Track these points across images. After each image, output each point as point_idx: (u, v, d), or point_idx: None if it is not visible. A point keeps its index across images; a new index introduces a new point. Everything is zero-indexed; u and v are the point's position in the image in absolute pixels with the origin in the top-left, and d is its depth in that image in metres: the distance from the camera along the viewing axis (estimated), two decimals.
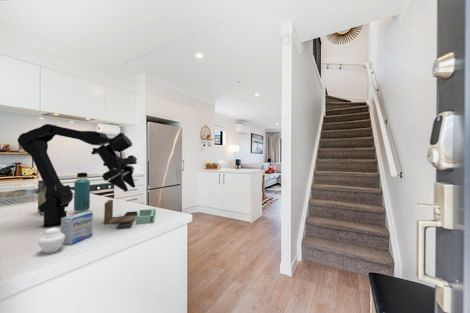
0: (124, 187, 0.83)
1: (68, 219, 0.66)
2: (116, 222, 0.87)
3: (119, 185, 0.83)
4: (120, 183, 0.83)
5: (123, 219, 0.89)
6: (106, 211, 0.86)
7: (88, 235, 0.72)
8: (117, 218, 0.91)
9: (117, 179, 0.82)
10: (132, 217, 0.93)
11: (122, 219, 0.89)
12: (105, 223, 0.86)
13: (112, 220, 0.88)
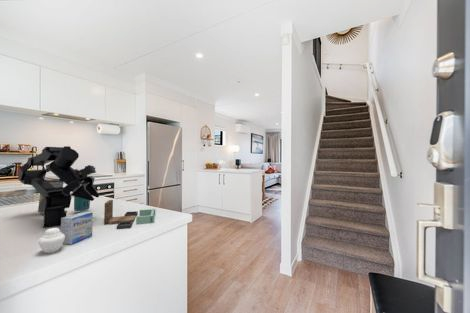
0: (89, 197, 0.83)
1: (68, 219, 0.66)
2: (116, 222, 0.87)
3: (84, 196, 0.82)
4: (84, 194, 0.82)
5: (123, 219, 0.89)
6: (106, 211, 0.86)
7: (88, 235, 0.72)
8: (117, 218, 0.91)
9: (80, 191, 0.82)
10: (132, 217, 0.93)
11: (122, 219, 0.89)
12: (105, 223, 0.86)
13: (112, 220, 0.88)
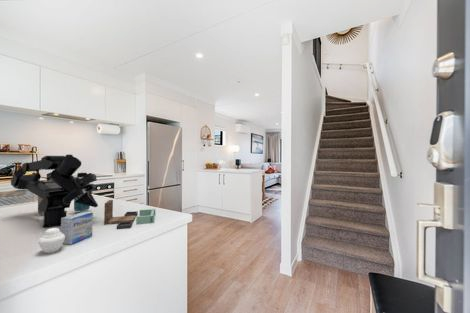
0: (93, 203, 0.87)
1: (68, 219, 0.66)
2: (116, 222, 0.87)
3: (88, 203, 0.85)
4: (88, 201, 0.85)
5: (123, 219, 0.89)
6: (106, 211, 0.86)
7: (88, 235, 0.72)
8: (117, 218, 0.91)
9: (84, 198, 0.85)
10: (132, 217, 0.92)
11: (122, 219, 0.89)
12: (105, 223, 0.86)
13: (112, 220, 0.88)
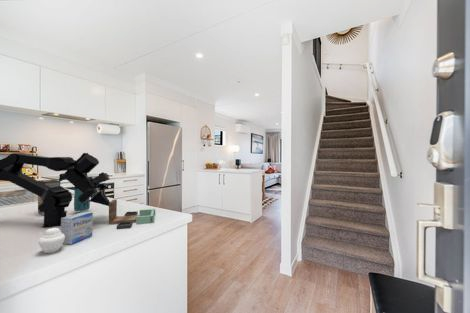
0: (106, 202, 0.88)
1: (68, 219, 0.66)
2: (120, 221, 0.88)
3: (101, 202, 0.87)
4: (102, 199, 0.87)
5: (127, 219, 0.90)
6: (110, 211, 0.86)
7: (88, 235, 0.72)
8: (121, 218, 0.91)
9: (98, 197, 0.86)
10: None
11: (126, 219, 0.90)
12: (109, 222, 0.86)
13: (116, 220, 0.88)
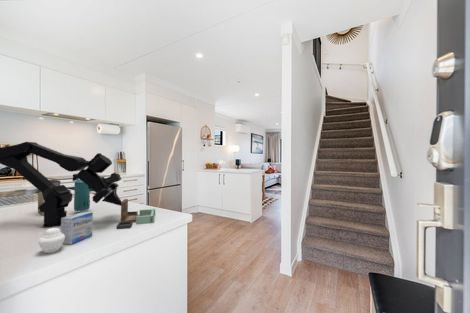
0: (118, 202, 0.90)
1: (68, 219, 0.66)
2: None
3: (113, 201, 0.88)
4: (114, 199, 0.89)
5: None
6: (122, 210, 0.88)
7: (88, 235, 0.72)
8: (132, 217, 0.92)
9: (110, 196, 0.88)
10: None
11: None
12: None
13: (128, 219, 0.90)
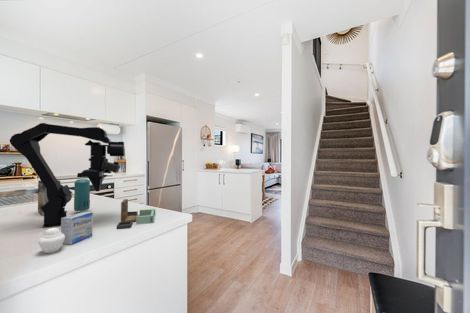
0: (97, 187, 0.90)
1: (68, 219, 0.66)
2: None
3: (94, 184, 0.89)
4: (96, 183, 0.89)
5: None
6: (122, 210, 0.88)
7: (88, 235, 0.72)
8: (132, 217, 0.92)
9: (96, 178, 0.89)
10: None
11: None
12: None
13: (128, 219, 0.90)
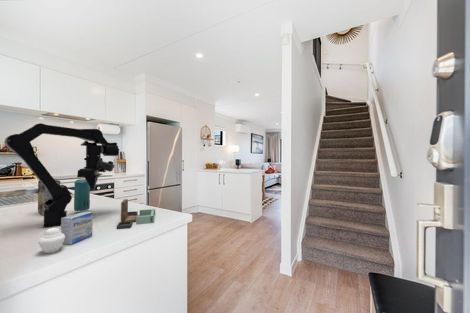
0: (92, 185, 0.95)
1: (68, 219, 0.66)
2: None
3: (90, 182, 0.94)
4: (91, 181, 0.95)
5: None
6: (122, 210, 0.88)
7: (88, 235, 0.72)
8: (132, 217, 0.92)
9: (91, 177, 0.95)
10: None
11: None
12: None
13: (128, 219, 0.90)
